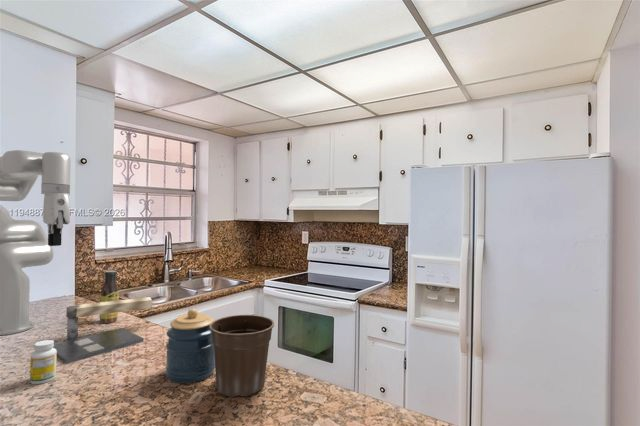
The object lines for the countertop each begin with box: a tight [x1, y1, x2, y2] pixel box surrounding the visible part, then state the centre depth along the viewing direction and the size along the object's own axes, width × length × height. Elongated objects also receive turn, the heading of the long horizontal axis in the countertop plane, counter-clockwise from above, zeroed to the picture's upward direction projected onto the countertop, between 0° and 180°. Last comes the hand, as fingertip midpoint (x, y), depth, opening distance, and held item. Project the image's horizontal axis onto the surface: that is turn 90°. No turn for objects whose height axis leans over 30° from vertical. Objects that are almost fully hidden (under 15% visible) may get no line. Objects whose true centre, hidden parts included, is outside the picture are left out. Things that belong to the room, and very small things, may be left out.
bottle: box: [98, 270, 120, 324], centre depth 136 cm, size 7×6×20 cm
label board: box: [53, 317, 145, 365], centre depth 114 cm, size 22×22×8 cm
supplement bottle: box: [29, 339, 58, 385], centre depth 90 cm, size 5×5×10 cm
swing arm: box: [65, 296, 153, 318], centre depth 123 cm, size 26×5×3 cm, turn 125°
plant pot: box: [210, 314, 275, 398], centre depth 89 cm, size 16×16×16 cm
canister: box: [165, 308, 215, 384], centre depth 95 cm, size 13×13×18 cm
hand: (54, 245), depth 114 cm, fingers closed
